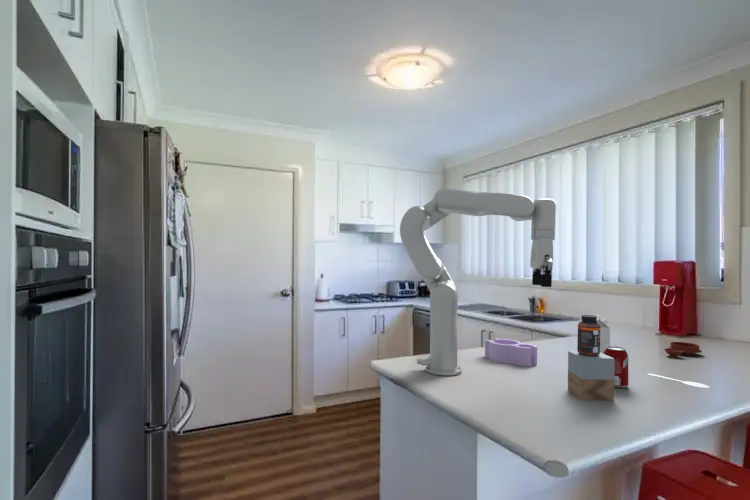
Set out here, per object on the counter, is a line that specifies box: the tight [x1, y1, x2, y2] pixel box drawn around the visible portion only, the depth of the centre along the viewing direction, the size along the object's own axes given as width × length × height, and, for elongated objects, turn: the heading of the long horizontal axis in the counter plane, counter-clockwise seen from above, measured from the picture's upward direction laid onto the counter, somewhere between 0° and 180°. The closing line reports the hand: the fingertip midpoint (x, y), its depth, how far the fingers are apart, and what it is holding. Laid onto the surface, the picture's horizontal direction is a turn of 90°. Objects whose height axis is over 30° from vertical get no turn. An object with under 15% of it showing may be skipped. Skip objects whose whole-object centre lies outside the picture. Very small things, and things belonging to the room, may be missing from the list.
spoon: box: [647, 372, 711, 389], centre depth 136 cm, size 5×18×1 cm, turn 31°
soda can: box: [604, 345, 629, 389], centre depth 130 cm, size 7×7×12 cm
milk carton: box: [596, 314, 611, 354], centre depth 156 cm, size 7×7×19 cm
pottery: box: [664, 341, 703, 359], centre depth 175 cm, size 12×20×4 cm, turn 123°
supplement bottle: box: [576, 314, 600, 356], centre depth 121 cm, size 6×6×11 cm
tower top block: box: [567, 350, 614, 380], centre depth 120 cm, size 9×9×6 cm
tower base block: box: [567, 370, 615, 402], centre depth 120 cm, size 9×9×6 cm
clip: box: [484, 337, 538, 367], centre depth 162 cm, size 20×12×7 cm, turn 37°
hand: (541, 285), depth 138 cm, fingers open, 9 cm apart
